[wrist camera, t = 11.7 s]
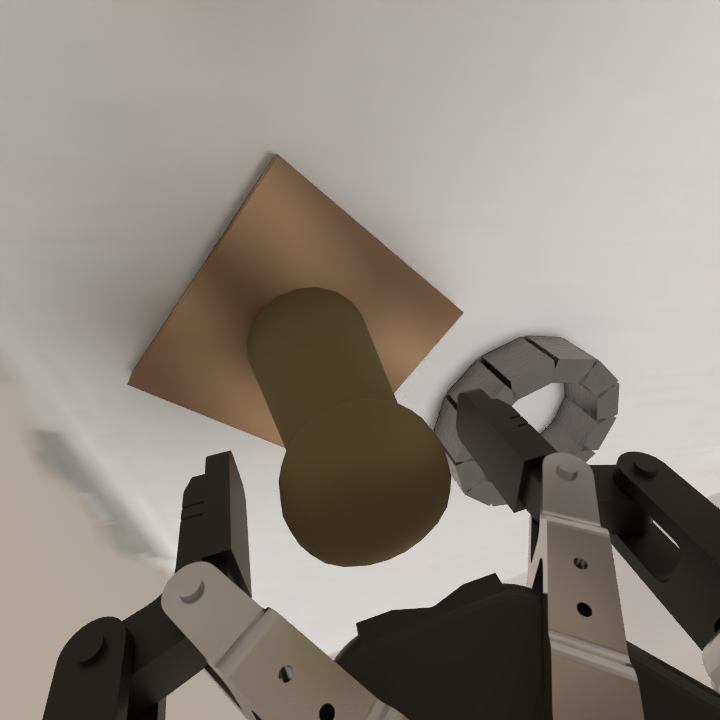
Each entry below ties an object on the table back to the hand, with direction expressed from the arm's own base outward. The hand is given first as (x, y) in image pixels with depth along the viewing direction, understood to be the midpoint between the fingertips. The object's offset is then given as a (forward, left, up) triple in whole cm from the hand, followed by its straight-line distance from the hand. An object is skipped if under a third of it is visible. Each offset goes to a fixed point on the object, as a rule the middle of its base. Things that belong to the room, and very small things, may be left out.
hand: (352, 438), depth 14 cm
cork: (0, 0, -8) cm, 8 cm away
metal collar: (-3, +16, -8) cm, 18 cm away
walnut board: (0, 0, -8) cm, 8 cm away
